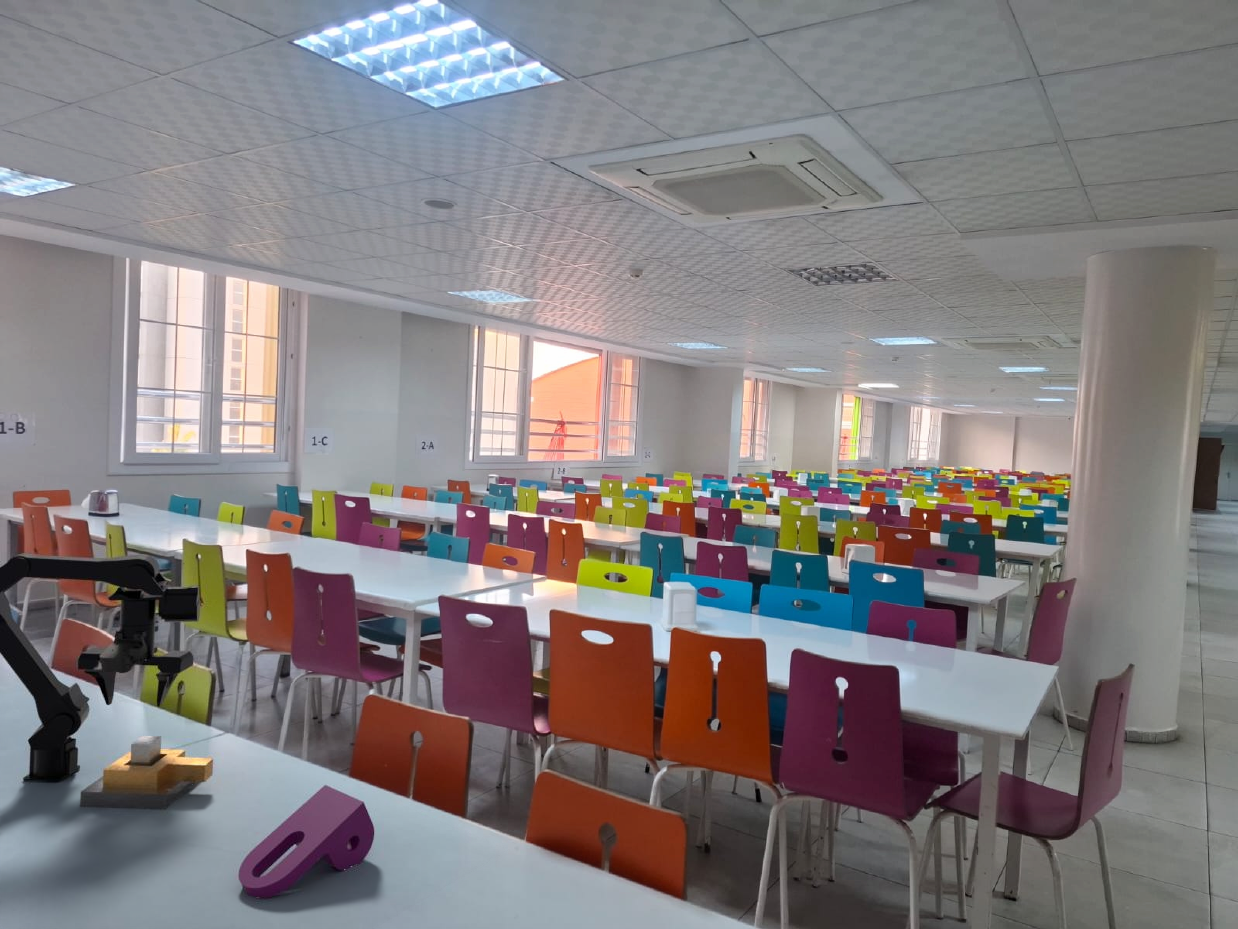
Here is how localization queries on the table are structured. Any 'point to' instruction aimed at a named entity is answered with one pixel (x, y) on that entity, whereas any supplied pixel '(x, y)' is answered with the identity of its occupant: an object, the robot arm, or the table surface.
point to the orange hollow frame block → (147, 781)
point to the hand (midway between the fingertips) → (134, 705)
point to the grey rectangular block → (146, 751)
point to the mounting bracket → (309, 842)
